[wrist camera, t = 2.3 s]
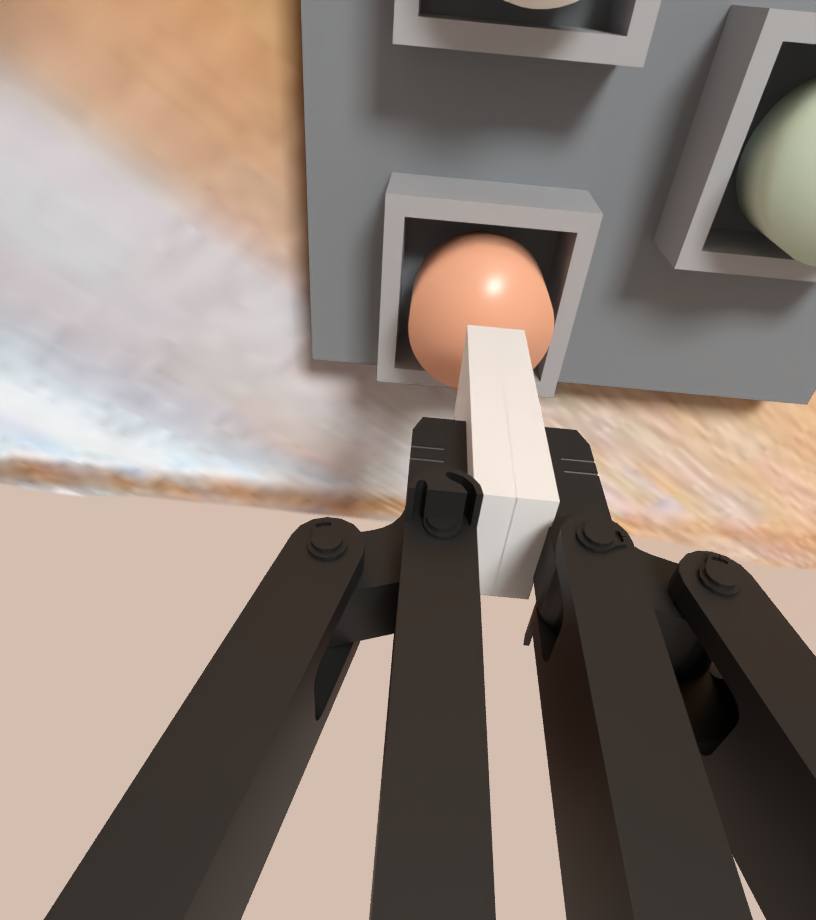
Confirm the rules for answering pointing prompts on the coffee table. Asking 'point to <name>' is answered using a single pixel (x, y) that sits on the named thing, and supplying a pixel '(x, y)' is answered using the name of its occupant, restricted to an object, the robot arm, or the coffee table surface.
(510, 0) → the cream button
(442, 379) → the terracotta button
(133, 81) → the coffee table surface
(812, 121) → the sage button
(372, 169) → the panel
